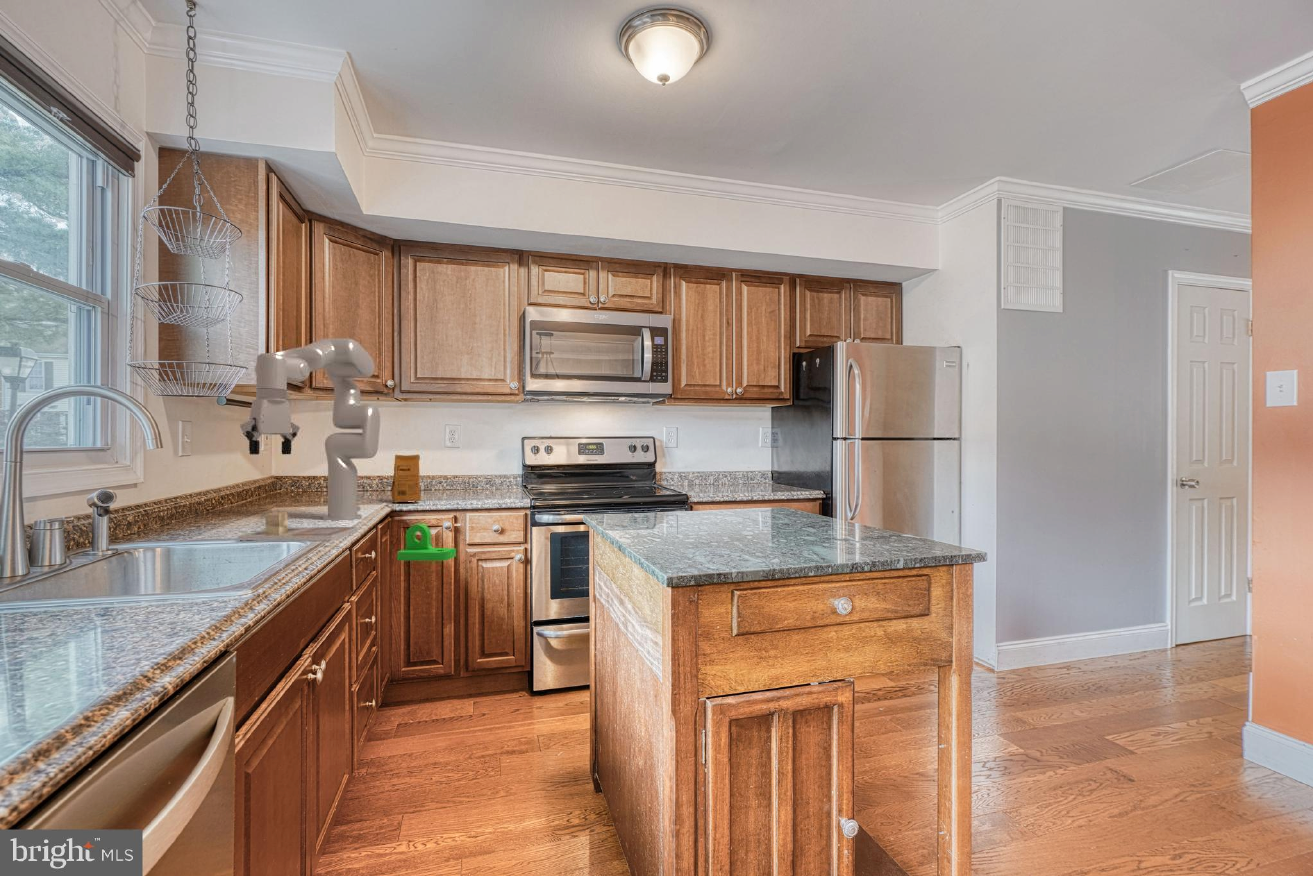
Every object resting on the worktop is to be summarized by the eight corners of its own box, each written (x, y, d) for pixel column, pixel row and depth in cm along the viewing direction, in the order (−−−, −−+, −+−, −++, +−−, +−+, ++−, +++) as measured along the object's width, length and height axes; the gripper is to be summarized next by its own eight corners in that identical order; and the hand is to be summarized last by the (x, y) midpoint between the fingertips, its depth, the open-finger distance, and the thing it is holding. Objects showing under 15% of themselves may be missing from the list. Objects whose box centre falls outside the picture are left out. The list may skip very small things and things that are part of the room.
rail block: (272, 532, 185) (272, 527, 185) (357, 532, 186) (357, 526, 186) (237, 541, 169) (237, 535, 169) (331, 540, 170) (331, 534, 170)
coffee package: (391, 501, 277) (391, 454, 277) (420, 500, 282) (420, 454, 282) (390, 503, 268) (390, 454, 268) (420, 502, 272) (420, 454, 272)
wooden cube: (273, 535, 179) (273, 512, 179) (287, 535, 179) (287, 512, 179) (265, 537, 175) (265, 514, 175) (279, 537, 175) (279, 514, 175)
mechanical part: (397, 560, 144) (397, 527, 144) (409, 555, 150) (409, 523, 150) (444, 561, 142) (444, 527, 142) (455, 556, 148) (455, 524, 148)
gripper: (290, 398, 184) (289, 454, 184) (232, 393, 168) (231, 454, 168) (307, 398, 182) (306, 454, 181) (251, 392, 166) (250, 454, 165)
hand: (270, 454), depth 175 cm, fingers open, 9 cm apart
